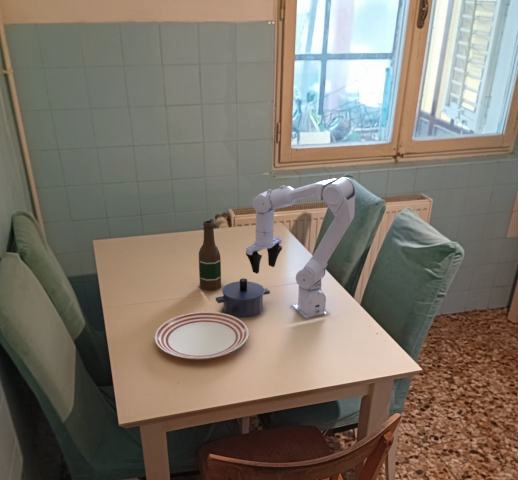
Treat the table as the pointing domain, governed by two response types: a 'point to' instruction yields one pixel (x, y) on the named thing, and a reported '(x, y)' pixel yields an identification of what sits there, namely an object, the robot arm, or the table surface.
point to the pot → (242, 306)
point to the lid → (243, 290)
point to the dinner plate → (201, 335)
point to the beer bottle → (209, 260)
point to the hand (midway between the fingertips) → (263, 269)
